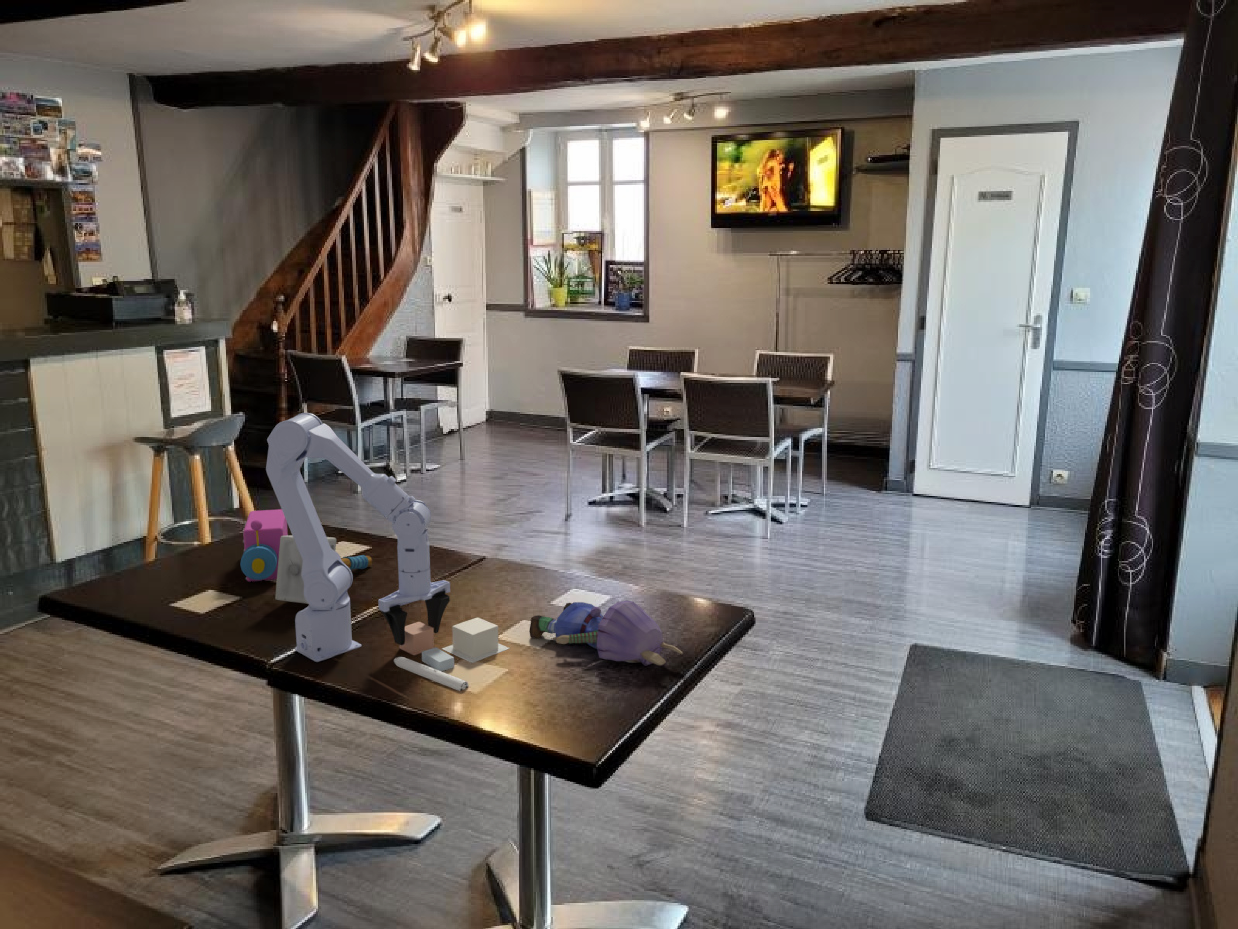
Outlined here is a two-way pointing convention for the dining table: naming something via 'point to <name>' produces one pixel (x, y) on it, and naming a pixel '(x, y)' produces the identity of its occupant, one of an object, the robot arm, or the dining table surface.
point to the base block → (475, 637)
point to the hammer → (291, 568)
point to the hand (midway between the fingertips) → (417, 637)
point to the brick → (438, 659)
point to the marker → (431, 673)
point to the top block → (418, 638)
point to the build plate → (472, 660)
